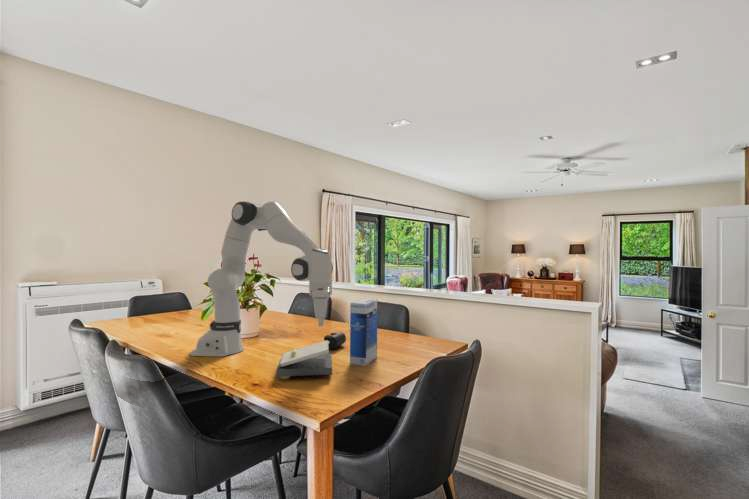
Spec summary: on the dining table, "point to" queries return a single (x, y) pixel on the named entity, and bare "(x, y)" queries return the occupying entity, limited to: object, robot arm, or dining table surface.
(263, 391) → the dining table surface
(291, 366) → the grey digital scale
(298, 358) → the level plate
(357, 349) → the string lights box
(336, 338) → the end cap
